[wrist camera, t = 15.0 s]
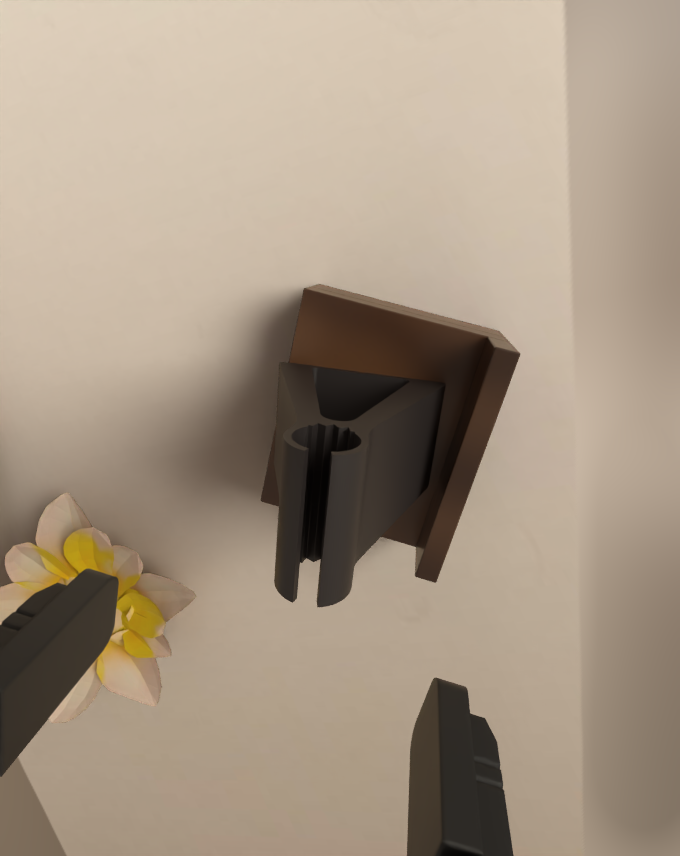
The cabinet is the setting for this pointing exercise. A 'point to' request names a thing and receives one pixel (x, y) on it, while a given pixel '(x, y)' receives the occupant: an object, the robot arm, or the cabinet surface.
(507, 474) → the cabinet surface
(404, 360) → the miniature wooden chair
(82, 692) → the decorative flower
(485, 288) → the cabinet surface
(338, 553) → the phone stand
